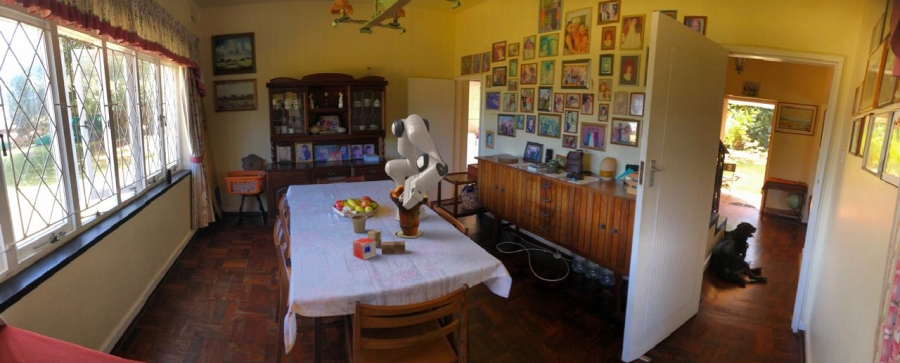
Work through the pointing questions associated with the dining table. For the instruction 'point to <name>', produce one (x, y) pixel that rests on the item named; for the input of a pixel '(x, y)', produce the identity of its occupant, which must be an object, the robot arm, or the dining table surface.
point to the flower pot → (359, 223)
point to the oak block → (375, 237)
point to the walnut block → (393, 247)
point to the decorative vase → (408, 215)
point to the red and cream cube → (364, 248)
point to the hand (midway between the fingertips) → (400, 199)
